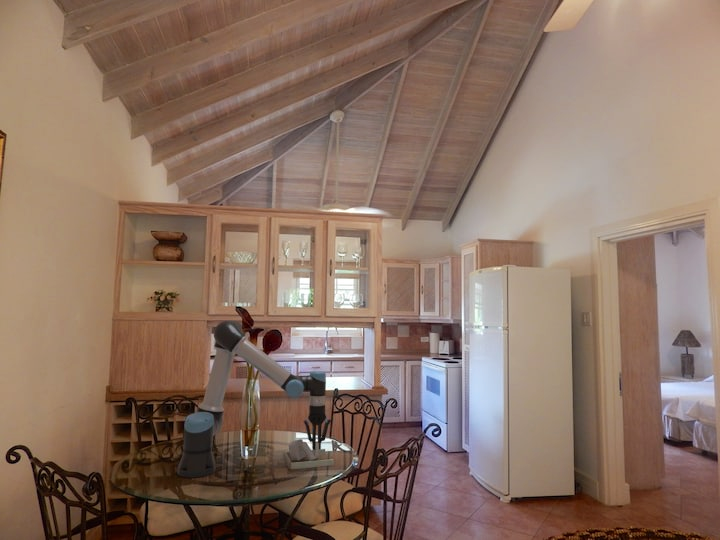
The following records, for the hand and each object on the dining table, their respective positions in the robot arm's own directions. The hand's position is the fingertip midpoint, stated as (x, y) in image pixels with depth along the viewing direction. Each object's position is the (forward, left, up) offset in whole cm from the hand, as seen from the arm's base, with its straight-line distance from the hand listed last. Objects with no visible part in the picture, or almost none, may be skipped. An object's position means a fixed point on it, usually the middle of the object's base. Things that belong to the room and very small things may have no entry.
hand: (316, 456), depth 203 cm
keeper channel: (-4, -1, -1) cm, 4 cm away
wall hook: (-6, +1, -2) cm, 6 cm away
